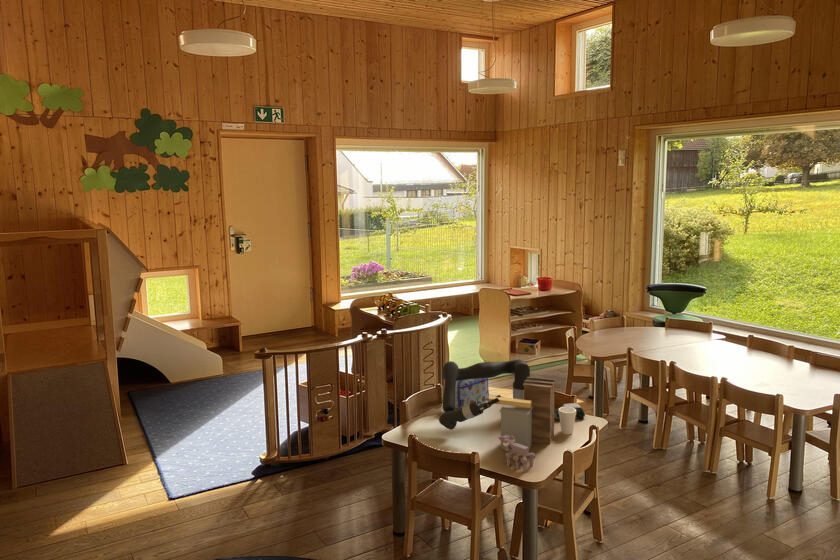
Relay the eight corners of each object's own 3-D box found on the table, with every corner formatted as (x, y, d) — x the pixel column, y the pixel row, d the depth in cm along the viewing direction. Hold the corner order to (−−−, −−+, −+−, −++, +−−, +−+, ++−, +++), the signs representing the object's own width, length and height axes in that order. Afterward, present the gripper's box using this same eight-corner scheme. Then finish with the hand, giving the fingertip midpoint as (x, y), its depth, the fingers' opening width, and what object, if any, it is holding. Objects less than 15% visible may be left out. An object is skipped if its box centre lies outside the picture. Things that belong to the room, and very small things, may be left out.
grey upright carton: (505, 440, 348) (505, 403, 345) (532, 444, 343) (532, 406, 339) (499, 449, 338) (499, 410, 335) (528, 453, 333) (528, 414, 329)
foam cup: (578, 431, 358) (579, 409, 356) (570, 436, 352) (570, 414, 349) (563, 427, 365) (563, 405, 362) (555, 432, 358) (555, 410, 355)
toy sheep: (491, 461, 325) (491, 435, 323) (503, 455, 332) (504, 430, 331) (524, 473, 311) (525, 447, 309) (536, 467, 319) (537, 440, 317)
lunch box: (459, 414, 387) (458, 379, 383) (447, 409, 395) (446, 375, 391) (490, 402, 405) (490, 369, 401) (479, 398, 412) (478, 365, 408)
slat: (490, 400, 344) (490, 395, 343) (531, 405, 336) (531, 400, 335) (488, 402, 340) (488, 398, 340) (529, 407, 332) (529, 403, 331)
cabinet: (528, 431, 360) (528, 375, 354) (555, 435, 354) (555, 377, 348) (522, 440, 348) (522, 382, 342) (550, 444, 342) (551, 385, 336)
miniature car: (551, 416, 381) (551, 403, 380) (580, 414, 383) (581, 401, 382) (556, 422, 372) (556, 408, 371) (586, 419, 375) (586, 406, 373)
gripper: (465, 408, 340) (492, 396, 333) (473, 399, 353) (499, 387, 346) (472, 421, 340) (499, 409, 333) (479, 411, 353) (506, 399, 346)
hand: (499, 398), depth 339 cm, fingers closed on slat, 4 cm apart
